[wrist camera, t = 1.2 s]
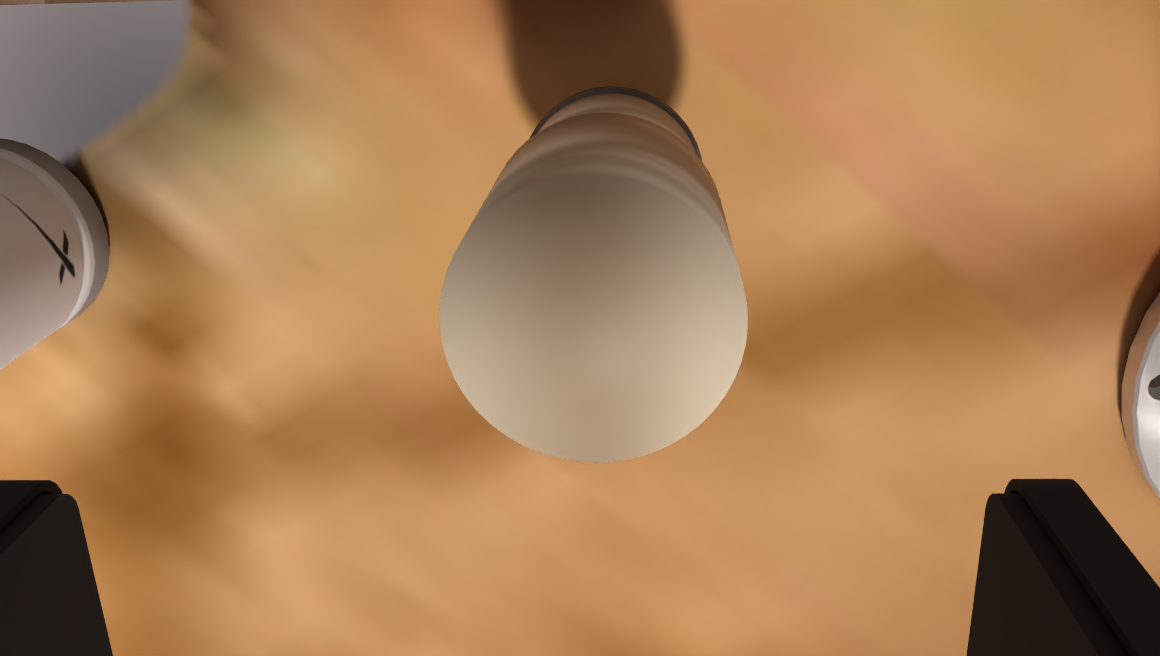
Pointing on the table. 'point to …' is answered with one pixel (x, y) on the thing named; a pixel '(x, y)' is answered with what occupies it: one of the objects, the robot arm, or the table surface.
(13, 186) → the travel mug
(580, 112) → the ash leg
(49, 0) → the walnut board
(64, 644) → the robot arm
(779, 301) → the table surface
